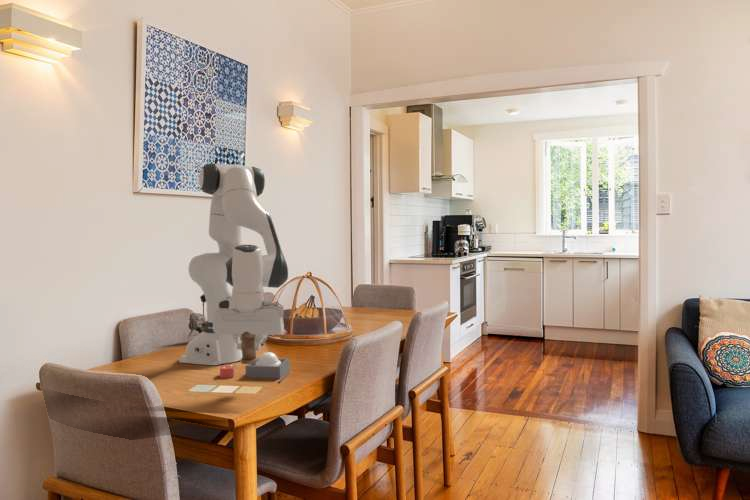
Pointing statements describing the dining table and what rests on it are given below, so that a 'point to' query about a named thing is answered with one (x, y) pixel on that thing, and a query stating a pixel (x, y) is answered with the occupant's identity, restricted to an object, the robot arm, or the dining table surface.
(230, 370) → the red die
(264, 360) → the dome
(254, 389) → the game board
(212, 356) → the robot arm
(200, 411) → the dining table surface
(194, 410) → the dining table surface
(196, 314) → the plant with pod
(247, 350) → the walnut pawn
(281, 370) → the base
